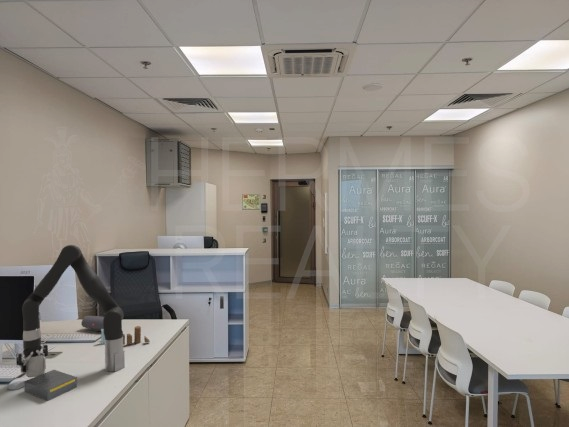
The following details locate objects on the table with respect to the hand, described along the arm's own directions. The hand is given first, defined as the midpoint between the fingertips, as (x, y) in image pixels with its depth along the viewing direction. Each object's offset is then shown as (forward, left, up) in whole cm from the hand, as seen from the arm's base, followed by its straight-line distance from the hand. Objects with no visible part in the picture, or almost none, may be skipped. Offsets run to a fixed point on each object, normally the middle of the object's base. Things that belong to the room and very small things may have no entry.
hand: (33, 368), depth 183 cm
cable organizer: (0, 0, -4) cm, 4 cm away
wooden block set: (-6, -58, -6) cm, 59 cm away
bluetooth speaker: (+40, -66, -7) cm, 78 cm away
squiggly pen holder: (+16, -58, -7) cm, 61 cm away
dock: (-17, +1, -6) cm, 18 cm away
